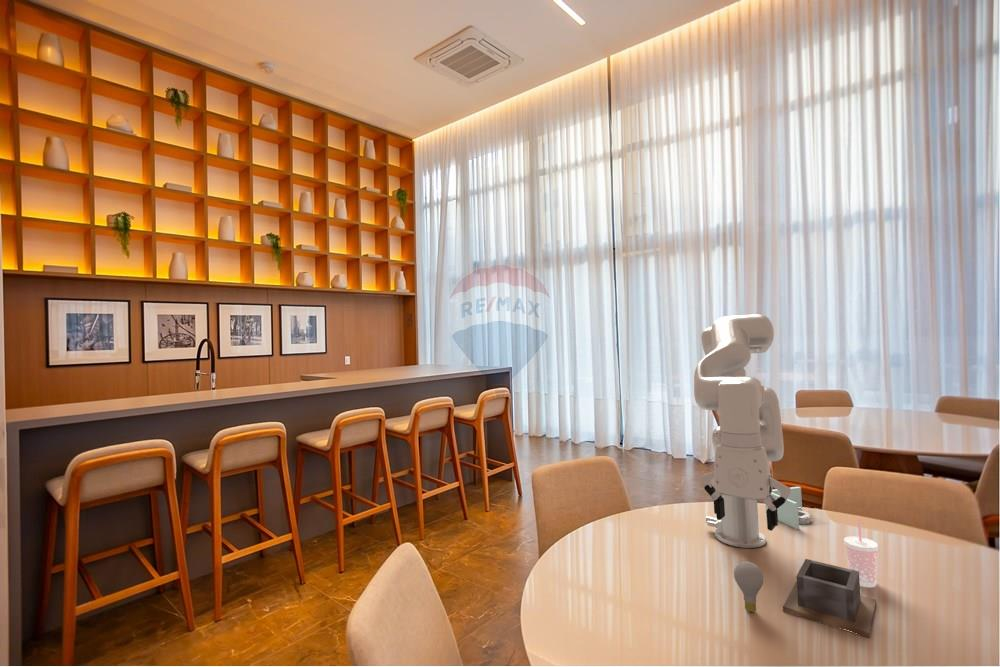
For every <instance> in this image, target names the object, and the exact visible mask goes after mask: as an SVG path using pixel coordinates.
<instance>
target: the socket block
mask: <svg viewBox="0 0 1000 667" xmlns="http://www.w3.org/2000/svg"><path fill="white" fill-rule="evenodd" d="M813 577H814V578H813ZM795 578H796V580H795V583H794V584H793V586H792V587H791V590H790V591H789V594H788V596H787V598H786V600H785V602H784V603H783V605H782V611H783V612H784V613H788V614H790V615H795V616H797V617H800V618H803V619H806V620H809V619H810V621H813V622H817V623H819V622H820V623H819V624H822V623H823V624H822V625H825V624H828V625H827V626H829V625H831V626H830V627H832V626H834V627H833V628H835V627H836V629H838V628H841V629H840V630H842V629H846V630H849V631H852V632H854V633H857V634H856V635H858V634H859V635H858V636H861V637H864V636H865V638H867V637H868V638H867V639H870V637H871V632H872V628H871V627H872V626H873V623H874V617H875V613H876V608H877V599H875V598H872V597H868V596H864V595H861V586H860V580H859V571H855V570H851V569H849V568H847V567H846V568H845V567H841V566H837V565H833V564H829V563H825V562H821V561H816V560H813V559H807V558H805V559H804V561H803V562H802V565H801V567H800V569H799V570H798V571H797V574H796V576H795ZM816 578H818V579H816ZM820 579H822V580H820ZM824 580H826V581H824ZM828 581H830V582H828ZM832 582H833V583H832ZM836 583H837V584H836ZM840 584H841V585H840ZM844 585H845V586H844ZM854 633H853V634H854Z"/></svg>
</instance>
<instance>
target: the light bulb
mask: <svg viewBox="0 0 1000 667" xmlns="http://www.w3.org/2000/svg"><path fill="white" fill-rule="evenodd" d="M733 577H734V581H735V583H736V584H737V585H738V587H739V589H740V590H741V592H742V593H743V594H742V596H743V601H744V609H745V610H746V611H747V612H748V613H753V612H756V611H757V595H758V593H759V591H760V590H761V589H762V587H763V585H764V580H765V579H764V574H763V572H762V570H761V569H760V567H759V566H758V565H756V564H755V563H753V562H750V561H741V562H739V563H737V564H736V566H735V568H734V570H733Z"/></svg>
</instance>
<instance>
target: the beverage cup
mask: <svg viewBox="0 0 1000 667" xmlns="http://www.w3.org/2000/svg"><path fill="white" fill-rule="evenodd" d="M857 529H858V536H846V537H844V538H843V541H844V542H843V543H844V546H845V548H846V549H845V551H846V556H847V565H848V569H851V570H855V571H859V580H860V587H863V588H875V587H876V586H877V551H878V549H879V545H878V542H876V541H874V540H872V539H869V538H866V537H862V525H861V519H859V518H858V519H857Z"/></svg>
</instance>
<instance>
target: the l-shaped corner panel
mask: <svg viewBox="0 0 1000 667" xmlns="http://www.w3.org/2000/svg"><path fill="white" fill-rule="evenodd" d="M790 488H791V490H792V492H791V494H790V495H789V497H788V499H787V501H786V502H785V503H784V504H783V505H781V506H780V507H779V508H777V514H778V522H781V523H783V524H785V525H787V526H789V527H791V528H793V529H795V530H799V529H800V525H807V524H808V525H809V524H810V523H812V520H811V519H812V515H811V514H810V512H806V511H804V510H803V501H802V500H803V498H802V487H801V486H792V487H791V486H790ZM771 495H772V496H773V497H774V498H775V499H778V498H779V497H780V495H781V492H780V491H779V490H777V489H775V488H774V489H772V493H771ZM798 507H801V508H802V509H801V508H798ZM767 509H768V506H767V505H766V504H765V515H766V514H767V513H766V511H767Z"/></svg>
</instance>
